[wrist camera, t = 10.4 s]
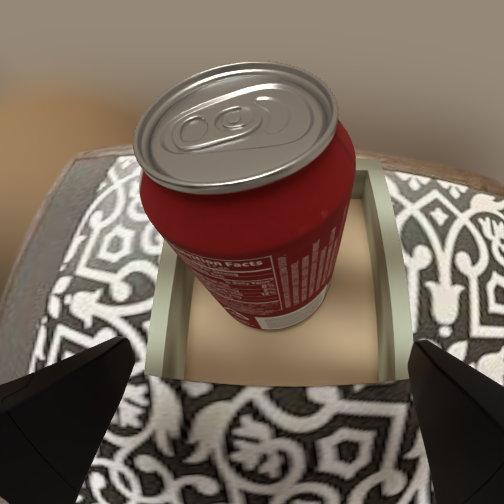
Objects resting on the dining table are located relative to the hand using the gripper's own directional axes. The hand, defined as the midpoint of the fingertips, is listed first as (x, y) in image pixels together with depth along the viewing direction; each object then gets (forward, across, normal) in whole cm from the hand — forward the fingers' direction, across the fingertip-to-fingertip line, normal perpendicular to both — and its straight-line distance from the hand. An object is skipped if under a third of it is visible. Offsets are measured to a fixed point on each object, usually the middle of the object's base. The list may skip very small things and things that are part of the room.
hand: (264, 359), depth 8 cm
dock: (+10, 0, +2) cm, 10 cm away
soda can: (+10, 0, +2) cm, 10 cm away
